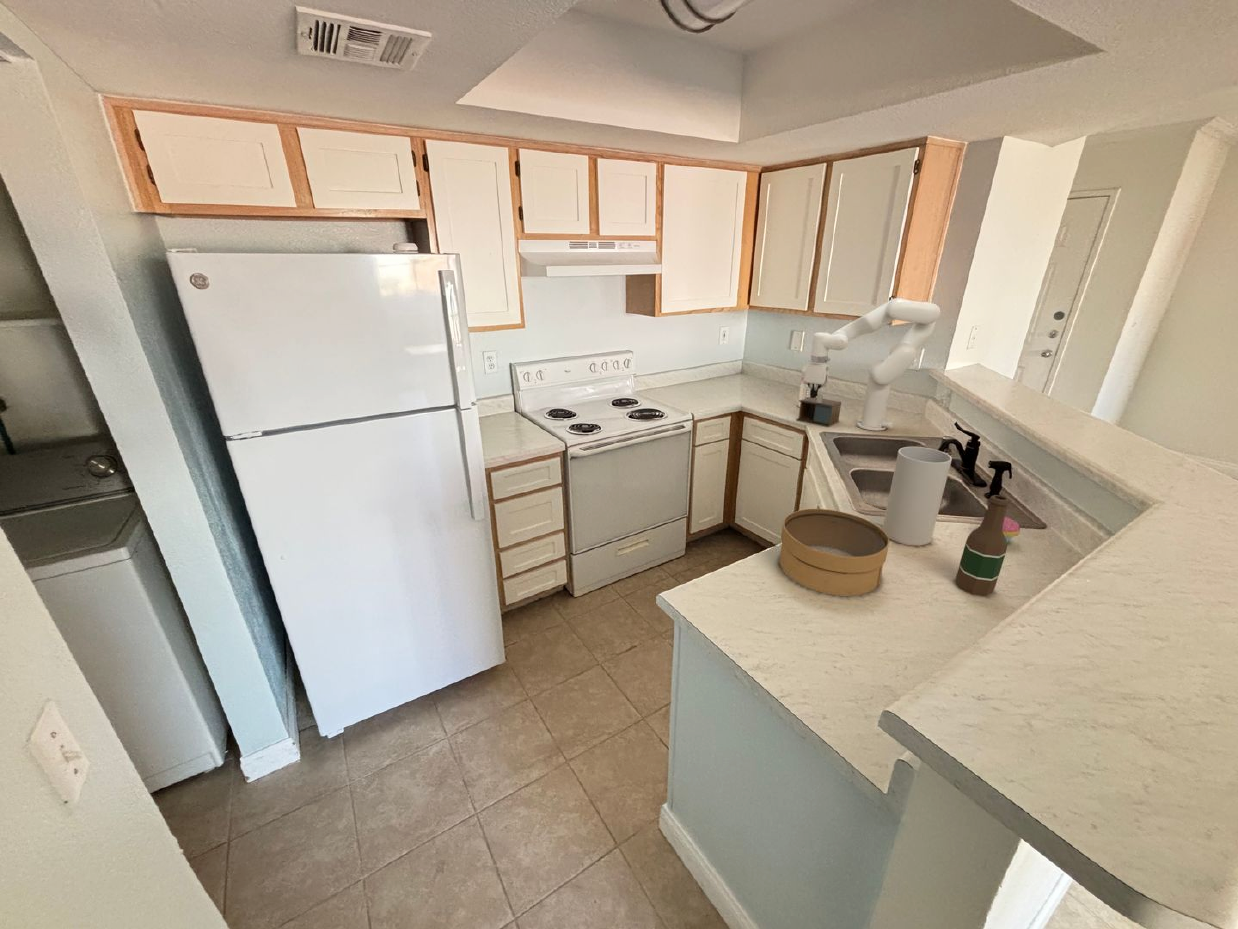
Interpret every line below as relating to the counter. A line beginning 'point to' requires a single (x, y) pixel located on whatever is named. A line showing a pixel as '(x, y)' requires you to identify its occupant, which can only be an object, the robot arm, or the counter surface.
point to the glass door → (822, 411)
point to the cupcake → (1010, 528)
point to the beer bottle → (984, 551)
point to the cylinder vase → (916, 495)
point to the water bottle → (803, 387)
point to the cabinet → (809, 409)
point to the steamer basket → (827, 568)
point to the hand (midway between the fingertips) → (813, 397)
